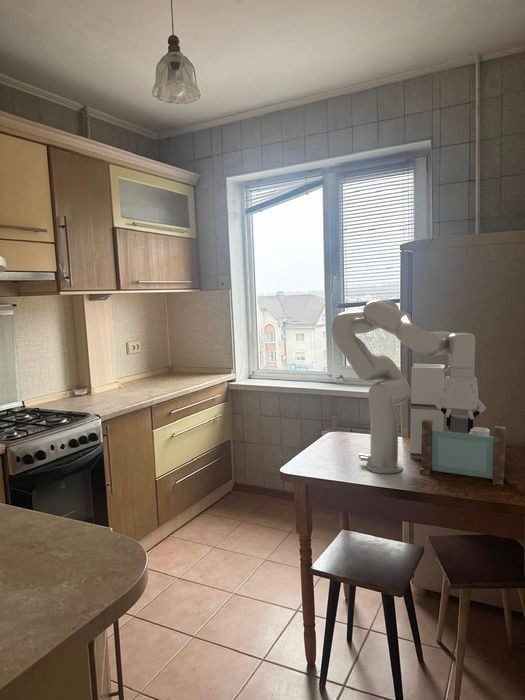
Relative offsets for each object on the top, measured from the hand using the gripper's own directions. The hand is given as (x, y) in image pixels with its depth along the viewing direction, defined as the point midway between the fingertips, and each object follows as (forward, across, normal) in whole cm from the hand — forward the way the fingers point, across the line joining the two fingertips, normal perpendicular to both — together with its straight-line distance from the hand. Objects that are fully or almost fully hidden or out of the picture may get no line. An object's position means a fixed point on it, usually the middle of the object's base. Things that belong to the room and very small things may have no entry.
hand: (459, 429), depth 157 cm
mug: (+19, +4, +34) cm, 39 cm away
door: (+19, 0, +13) cm, 23 cm away
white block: (+19, -15, +31) cm, 39 cm away
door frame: (+19, 0, +13) cm, 23 cm away
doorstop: (+1, 0, +5) cm, 5 cm away
